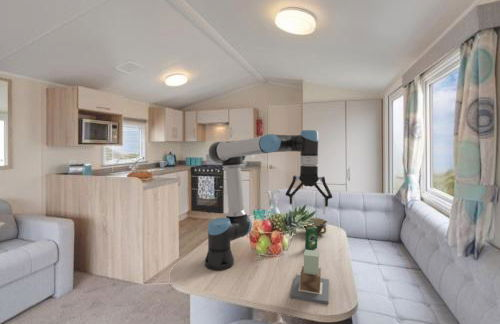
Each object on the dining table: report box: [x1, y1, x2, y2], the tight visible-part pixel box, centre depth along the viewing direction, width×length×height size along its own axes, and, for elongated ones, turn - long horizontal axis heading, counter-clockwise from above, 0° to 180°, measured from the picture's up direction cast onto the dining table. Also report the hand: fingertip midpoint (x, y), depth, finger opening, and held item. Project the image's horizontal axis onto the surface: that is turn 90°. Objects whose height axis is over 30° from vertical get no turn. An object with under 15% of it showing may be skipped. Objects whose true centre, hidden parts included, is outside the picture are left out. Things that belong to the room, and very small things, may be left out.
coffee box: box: [304, 226, 318, 250], centre depth 161 cm, size 8×3×13 cm, turn 123°
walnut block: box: [300, 265, 322, 293], centre depth 116 cm, size 8×8×7 cm
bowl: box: [303, 216, 328, 235], centre depth 187 cm, size 18×18×10 cm
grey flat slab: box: [290, 274, 330, 305], centre depth 116 cm, size 15×18×1 cm
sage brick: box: [303, 249, 320, 275], centre depth 115 cm, size 6×6×8 cm
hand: (308, 212), depth 119 cm, fingers open, 13 cm apart
